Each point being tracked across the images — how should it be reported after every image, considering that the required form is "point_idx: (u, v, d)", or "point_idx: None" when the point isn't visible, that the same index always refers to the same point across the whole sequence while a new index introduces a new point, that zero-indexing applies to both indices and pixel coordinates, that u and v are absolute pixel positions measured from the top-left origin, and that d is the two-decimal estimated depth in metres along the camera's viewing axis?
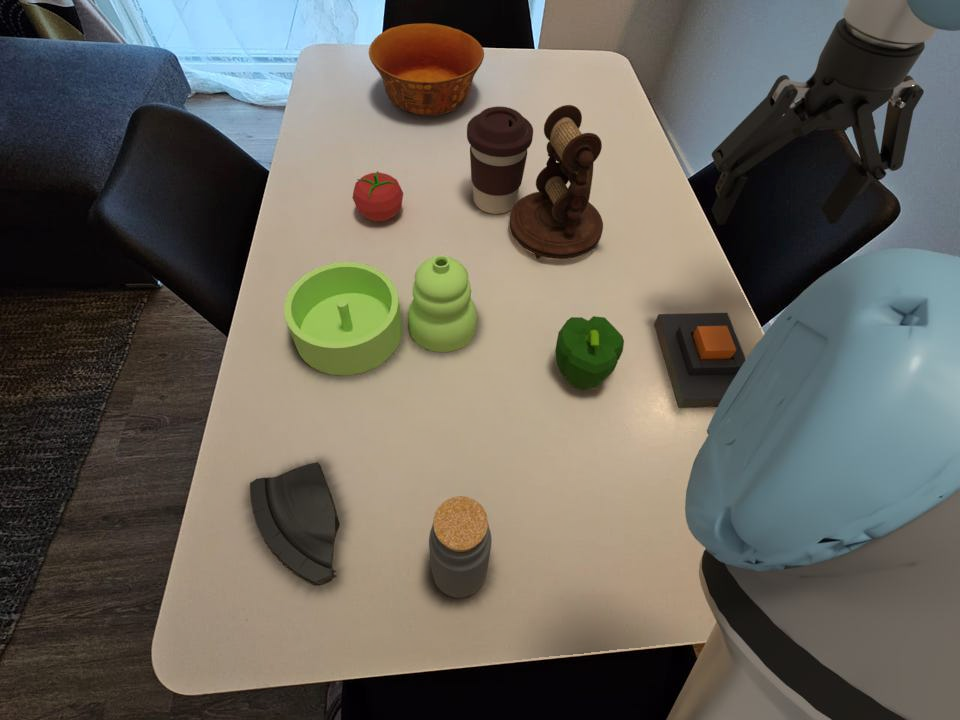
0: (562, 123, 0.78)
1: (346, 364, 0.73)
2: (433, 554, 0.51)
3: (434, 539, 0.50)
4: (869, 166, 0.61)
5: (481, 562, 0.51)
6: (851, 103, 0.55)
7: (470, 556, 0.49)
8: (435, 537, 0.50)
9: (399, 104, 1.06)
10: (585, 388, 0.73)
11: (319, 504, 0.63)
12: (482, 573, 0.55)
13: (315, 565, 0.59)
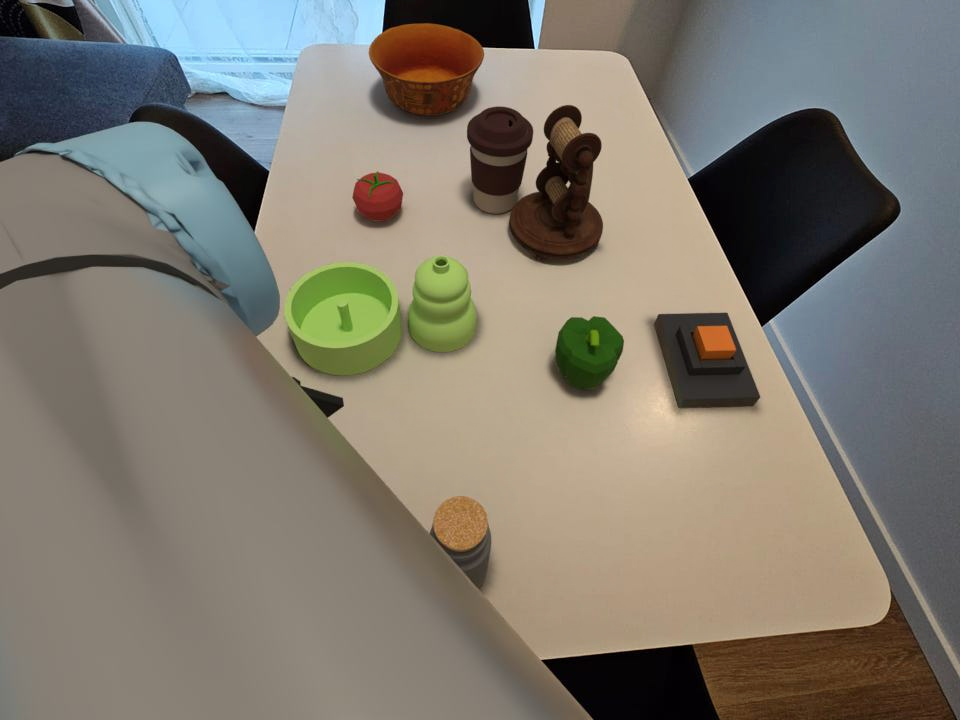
0: (562, 123, 0.78)
1: (346, 364, 0.73)
2: None
3: None
4: None
5: (481, 562, 0.51)
6: None
7: (470, 556, 0.49)
8: (435, 537, 0.50)
9: (399, 104, 1.06)
10: (585, 388, 0.73)
11: None
12: (482, 573, 0.55)
13: None
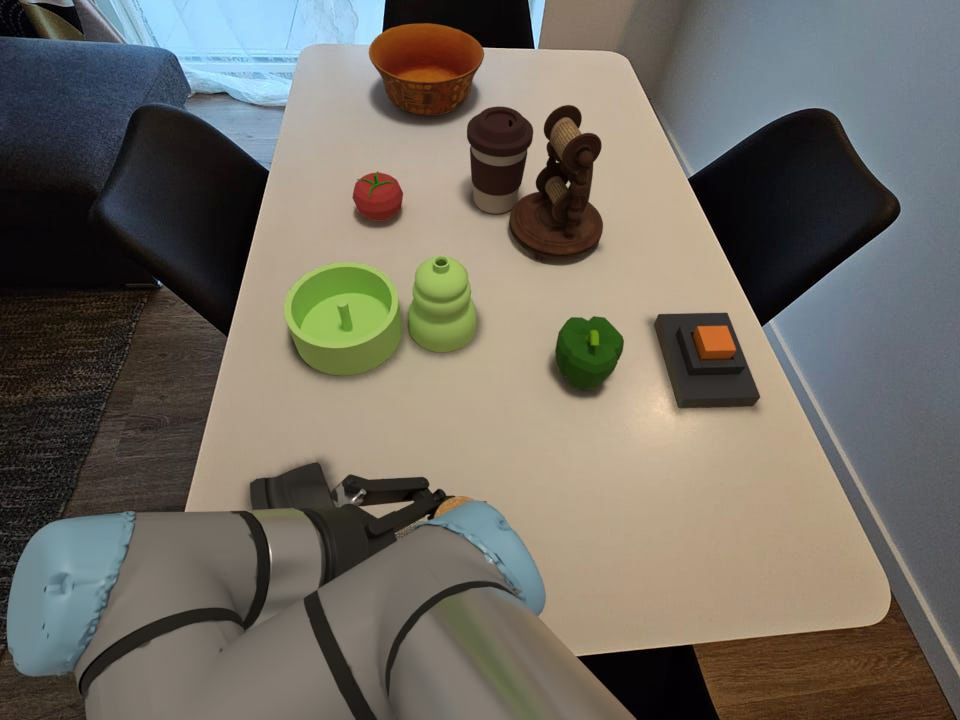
0: (562, 123, 0.78)
1: (346, 364, 0.73)
2: None
3: None
4: (432, 506, 0.53)
5: None
6: (367, 543, 0.44)
7: None
8: None
9: (399, 104, 1.06)
10: (585, 388, 0.73)
11: (319, 504, 0.63)
12: None
13: None
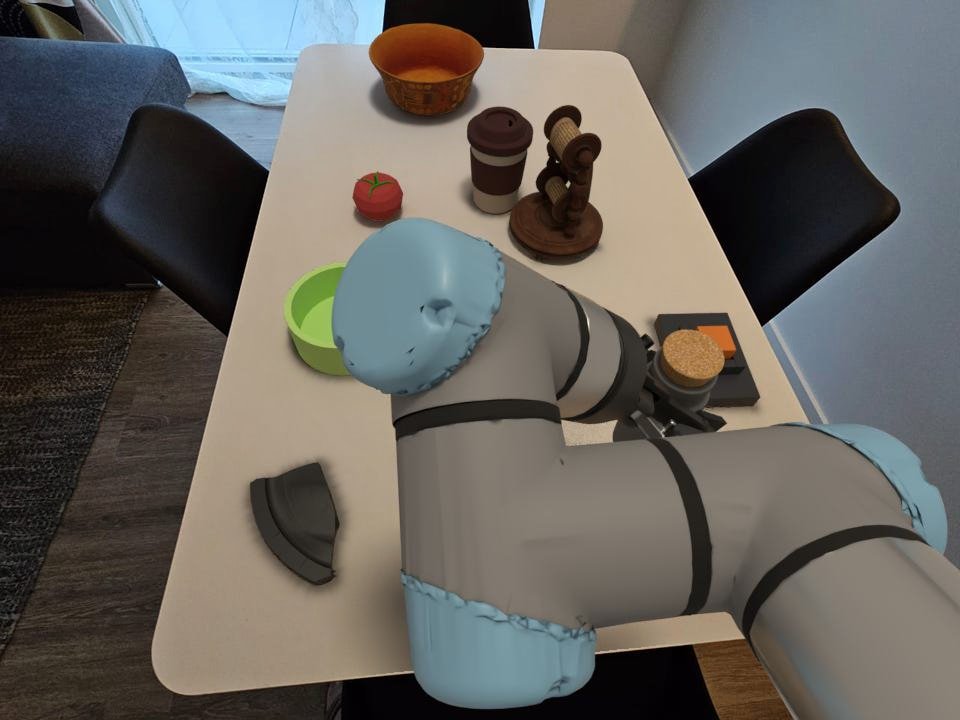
0: (562, 123, 0.78)
1: None
2: None
3: (660, 375, 0.45)
4: None
5: (703, 406, 0.46)
6: None
7: (703, 392, 0.44)
8: (661, 373, 0.45)
9: (399, 104, 1.06)
10: None
11: (319, 504, 0.63)
12: None
13: (315, 565, 0.59)
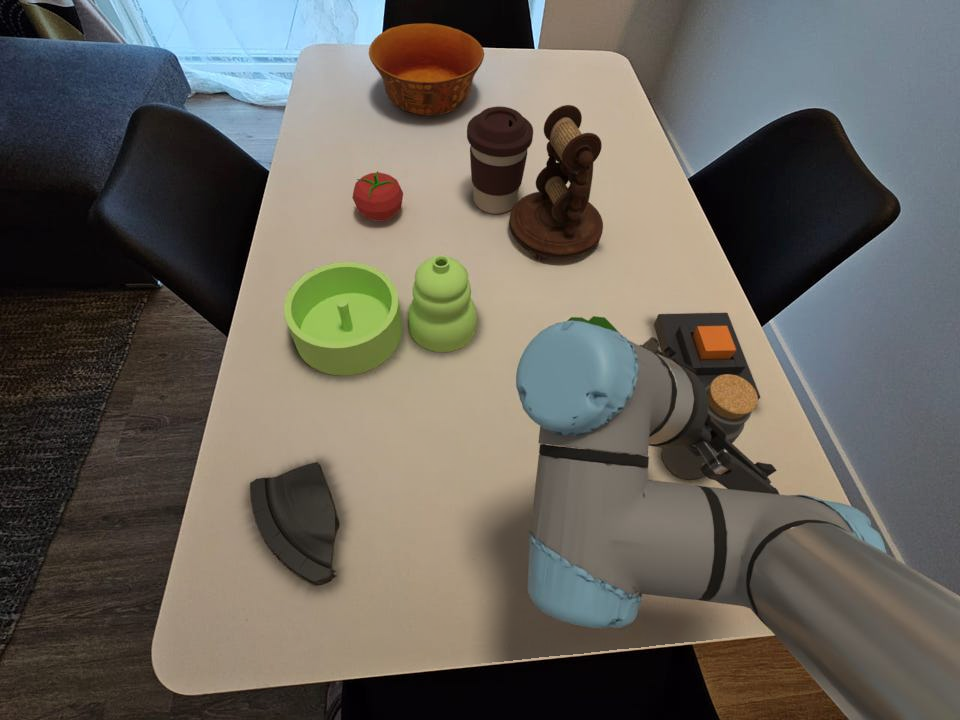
0: (562, 123, 0.78)
1: (346, 364, 0.73)
2: None
3: None
4: None
5: (740, 433, 0.60)
6: None
7: (741, 423, 0.58)
8: None
9: (399, 104, 1.06)
10: None
11: (319, 504, 0.63)
12: None
13: (315, 565, 0.59)
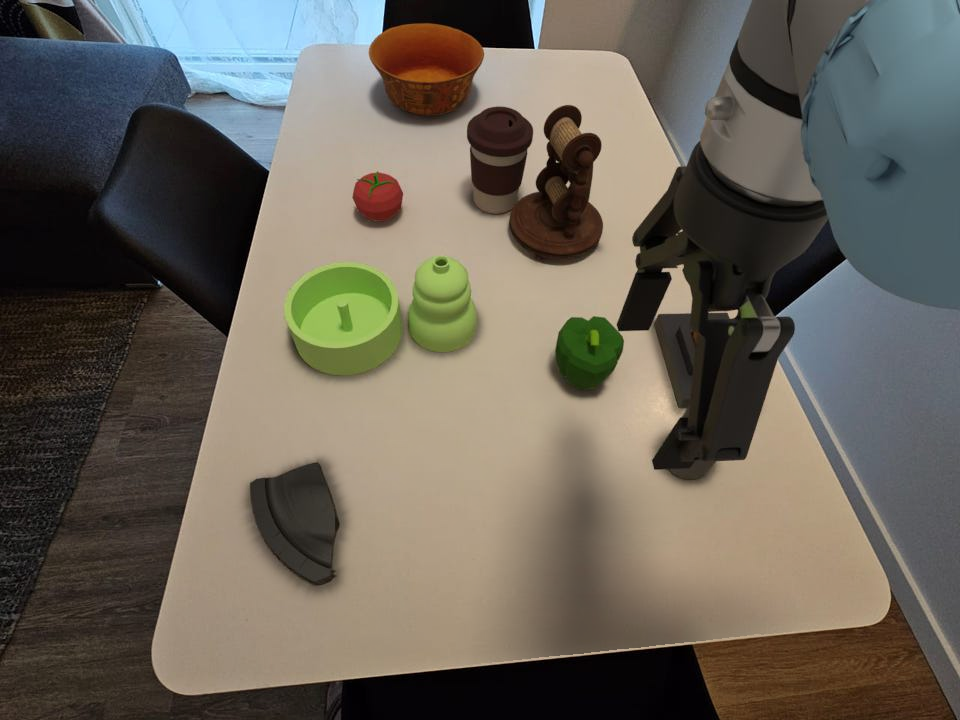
0: (562, 123, 0.78)
1: (346, 364, 0.73)
2: None
3: None
4: (674, 265, 0.43)
5: None
6: None
7: None
8: None
9: (399, 104, 1.06)
10: (585, 388, 0.73)
11: (319, 504, 0.63)
12: None
13: (315, 565, 0.59)
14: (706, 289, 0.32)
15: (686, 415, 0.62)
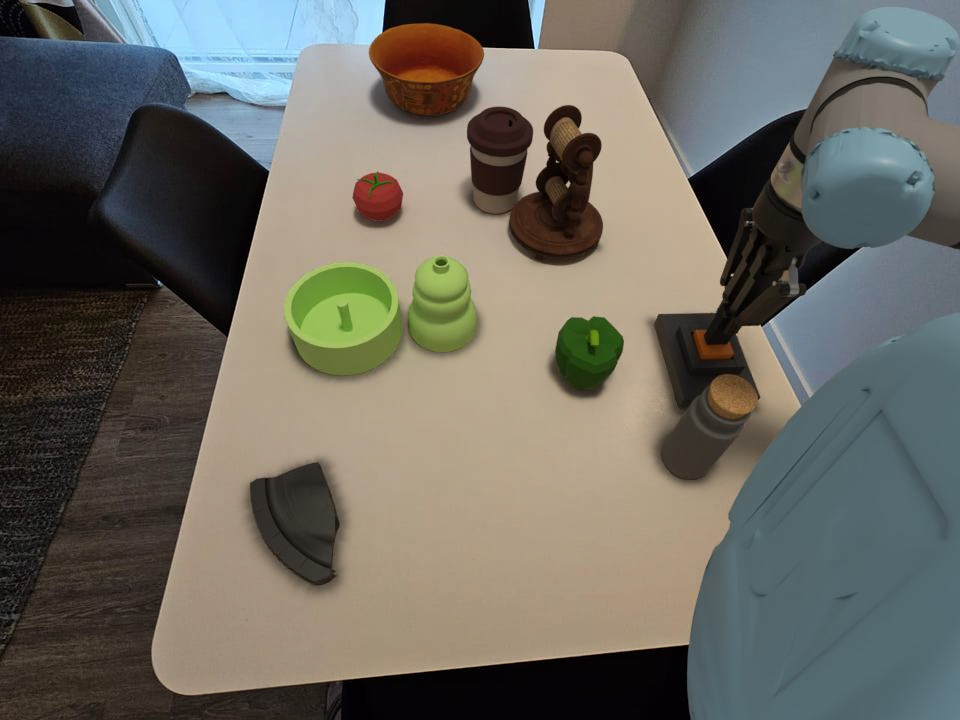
0: (562, 123, 0.78)
1: (346, 364, 0.73)
2: (698, 426, 0.60)
3: (707, 410, 0.58)
4: None
5: (740, 433, 0.60)
6: None
7: (741, 422, 0.58)
8: (708, 408, 0.58)
9: (399, 104, 1.06)
10: (585, 388, 0.73)
11: (319, 504, 0.63)
12: None
13: (315, 565, 0.59)
14: (764, 261, 0.59)
15: (686, 415, 0.62)
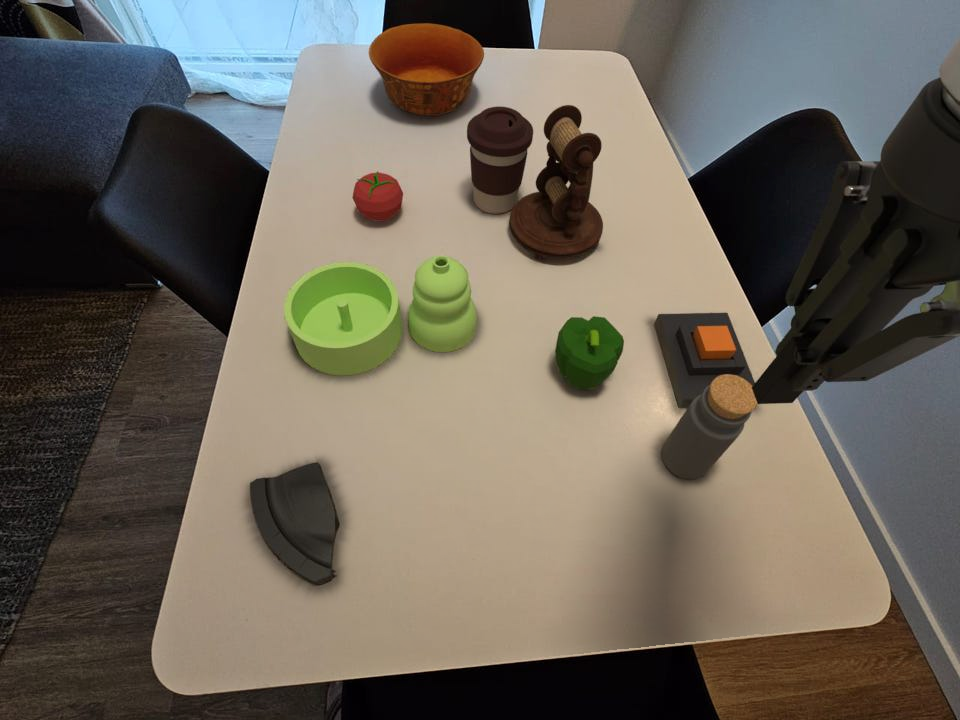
0: (562, 123, 0.78)
1: (346, 364, 0.73)
2: (698, 426, 0.60)
3: (707, 410, 0.58)
4: None
5: (740, 433, 0.60)
6: None
7: (741, 423, 0.58)
8: (708, 408, 0.58)
9: (399, 104, 1.06)
10: (585, 388, 0.73)
11: (319, 504, 0.63)
12: None
13: (315, 565, 0.59)
14: (900, 262, 0.29)
15: (686, 415, 0.62)
